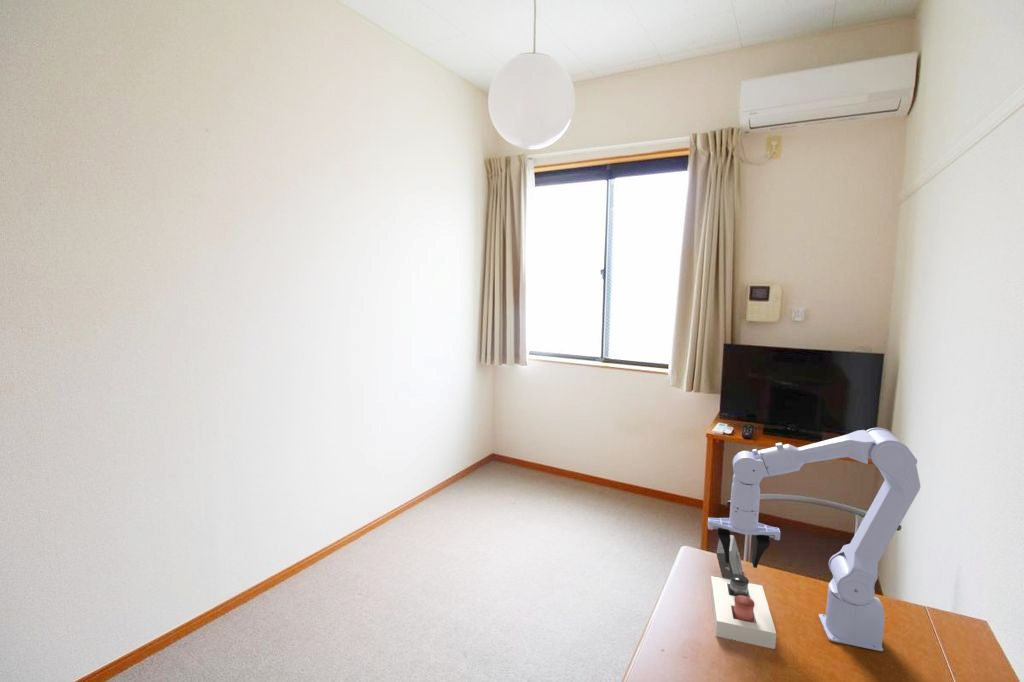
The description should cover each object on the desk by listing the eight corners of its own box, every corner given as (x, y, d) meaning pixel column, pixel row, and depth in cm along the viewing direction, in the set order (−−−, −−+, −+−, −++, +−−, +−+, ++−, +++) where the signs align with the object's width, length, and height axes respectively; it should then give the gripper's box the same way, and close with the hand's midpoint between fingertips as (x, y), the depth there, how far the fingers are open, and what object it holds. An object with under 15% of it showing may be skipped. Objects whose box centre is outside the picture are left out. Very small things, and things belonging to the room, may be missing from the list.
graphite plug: (746, 591, 110) (747, 575, 110) (748, 601, 107) (749, 585, 106) (728, 588, 111) (729, 572, 111) (730, 598, 108) (731, 582, 107)
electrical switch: (740, 590, 115) (739, 553, 114) (717, 585, 117) (715, 549, 116) (742, 570, 123) (741, 535, 122) (720, 566, 125) (719, 532, 125)
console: (761, 599, 111) (762, 585, 111) (775, 649, 96) (776, 633, 96) (710, 589, 115) (711, 576, 114) (716, 636, 100) (717, 620, 99)
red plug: (751, 614, 103) (752, 597, 102) (754, 626, 99) (755, 608, 99) (732, 610, 104) (733, 593, 103) (734, 622, 100) (735, 604, 100)
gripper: (777, 503, 108) (772, 559, 110) (708, 493, 112) (704, 547, 114) (784, 517, 101) (779, 577, 103) (710, 507, 106) (706, 564, 107)
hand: (740, 562), depth 108 cm, fingers open, 5 cm apart
